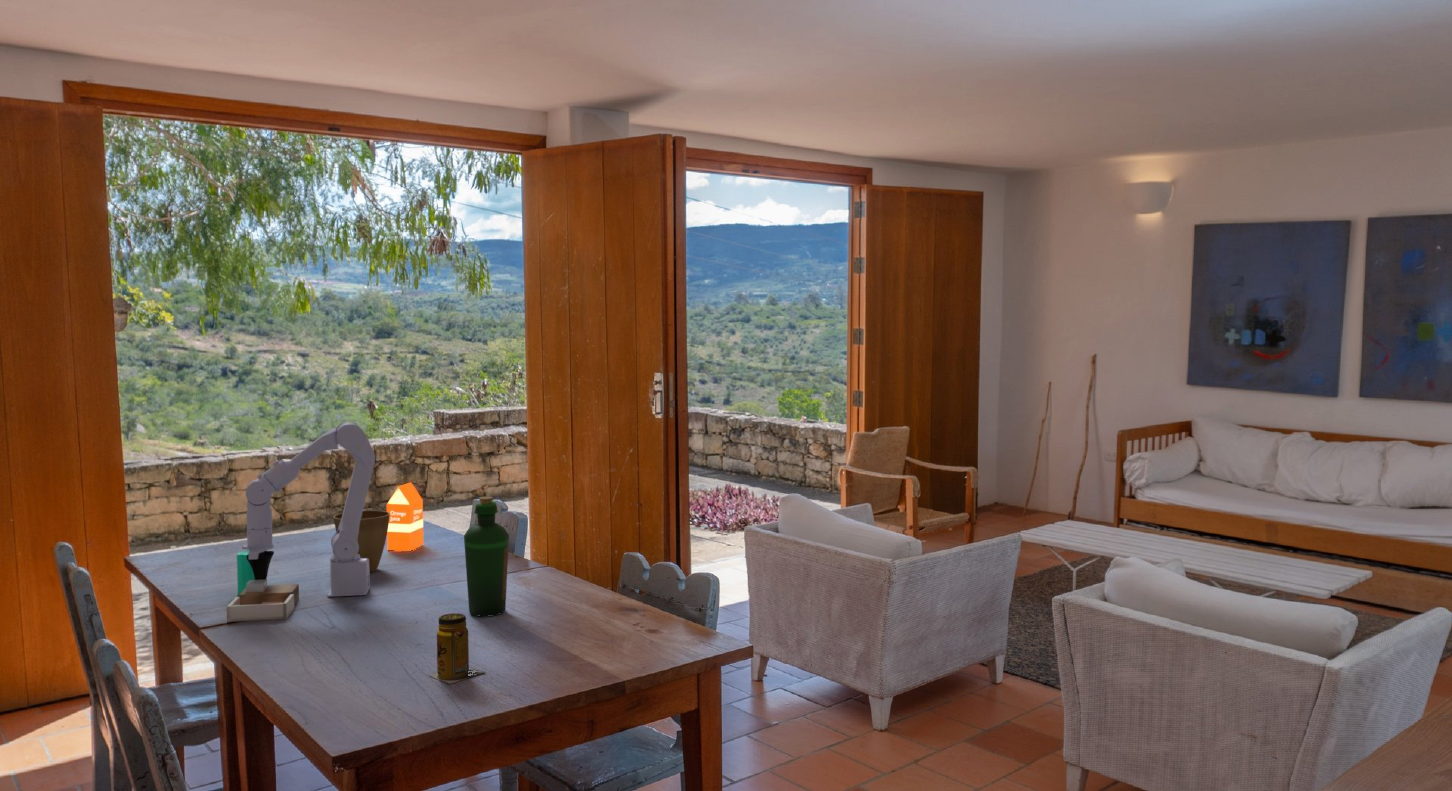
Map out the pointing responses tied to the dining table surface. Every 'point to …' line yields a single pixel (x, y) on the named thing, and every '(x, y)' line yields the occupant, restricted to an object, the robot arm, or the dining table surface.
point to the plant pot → (370, 535)
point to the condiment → (452, 649)
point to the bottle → (486, 561)
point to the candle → (243, 571)
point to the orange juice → (405, 519)
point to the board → (270, 594)
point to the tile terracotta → (271, 602)
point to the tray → (259, 610)
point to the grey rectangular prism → (256, 585)
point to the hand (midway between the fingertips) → (261, 581)
